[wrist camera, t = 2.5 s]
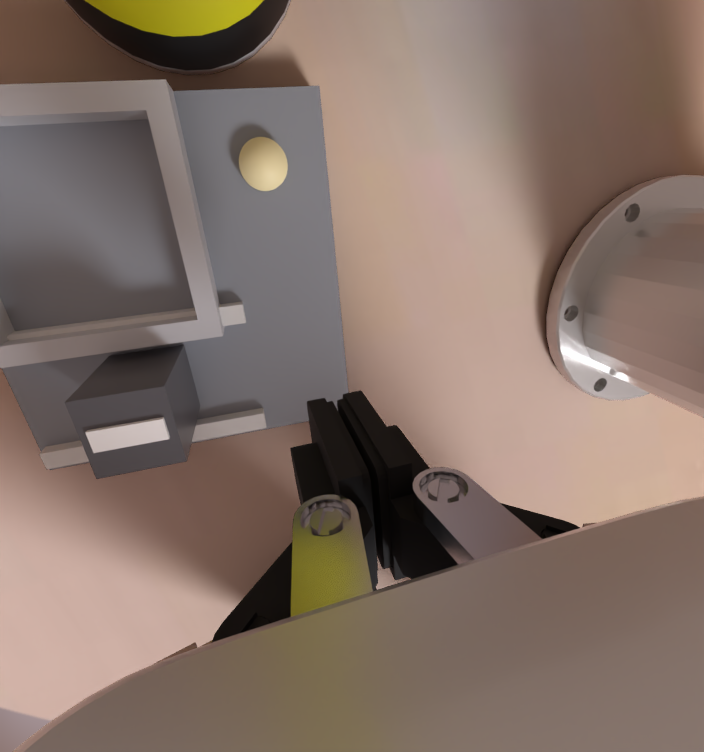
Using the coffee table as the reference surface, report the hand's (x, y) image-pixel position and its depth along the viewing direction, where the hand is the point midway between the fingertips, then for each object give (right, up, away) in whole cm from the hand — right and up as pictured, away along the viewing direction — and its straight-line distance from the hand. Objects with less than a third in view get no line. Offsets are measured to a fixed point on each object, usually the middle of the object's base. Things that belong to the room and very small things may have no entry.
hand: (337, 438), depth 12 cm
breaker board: (-7, +6, +5) cm, 11 cm away
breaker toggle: (-8, +2, +5) cm, 10 cm away
